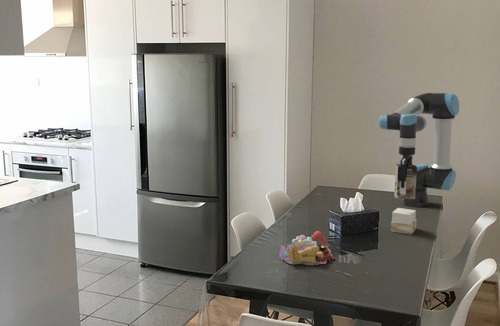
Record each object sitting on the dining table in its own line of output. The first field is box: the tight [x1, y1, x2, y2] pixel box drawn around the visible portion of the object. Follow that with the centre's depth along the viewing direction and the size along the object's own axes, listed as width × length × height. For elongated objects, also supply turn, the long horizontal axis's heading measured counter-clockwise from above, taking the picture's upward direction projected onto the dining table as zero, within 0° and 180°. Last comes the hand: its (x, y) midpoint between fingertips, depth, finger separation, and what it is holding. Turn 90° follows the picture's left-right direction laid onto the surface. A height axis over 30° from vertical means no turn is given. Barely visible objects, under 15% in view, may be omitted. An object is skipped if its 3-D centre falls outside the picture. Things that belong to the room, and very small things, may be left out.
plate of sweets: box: [278, 230, 335, 266], centre depth 229 cm, size 25×24×9 cm
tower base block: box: [390, 219, 418, 235], centre depth 262 cm, size 10×10×5 cm
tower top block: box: [391, 207, 417, 225], centre depth 261 cm, size 9×9×5 cm
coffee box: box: [393, 163, 417, 200], centre depth 257 cm, size 9×6×16 cm
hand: (405, 192), depth 258 cm, fingers closed on coffee box, 8 cm apart
